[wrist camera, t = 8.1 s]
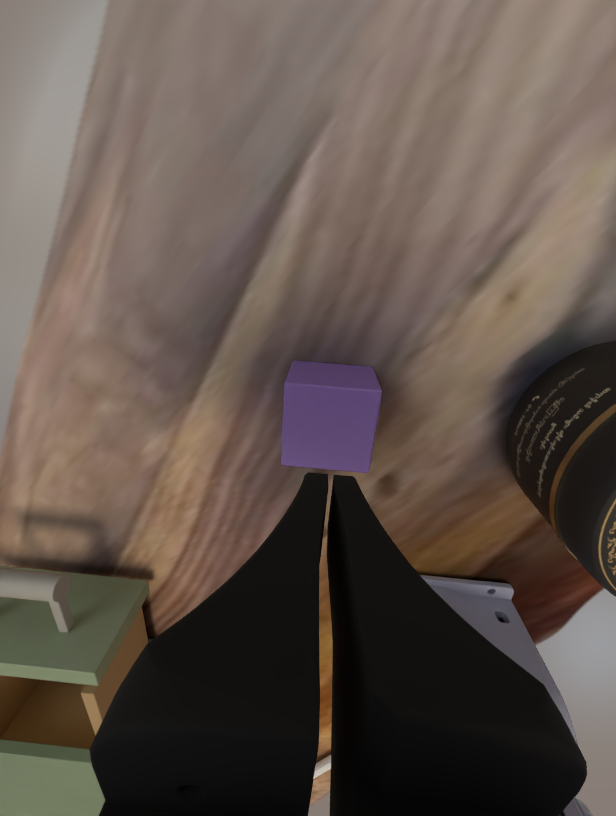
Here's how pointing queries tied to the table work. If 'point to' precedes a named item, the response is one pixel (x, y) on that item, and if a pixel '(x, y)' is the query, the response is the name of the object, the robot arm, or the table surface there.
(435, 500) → the table surface
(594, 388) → the jar
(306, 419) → the cube
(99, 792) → the cabinet
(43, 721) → the drawer
